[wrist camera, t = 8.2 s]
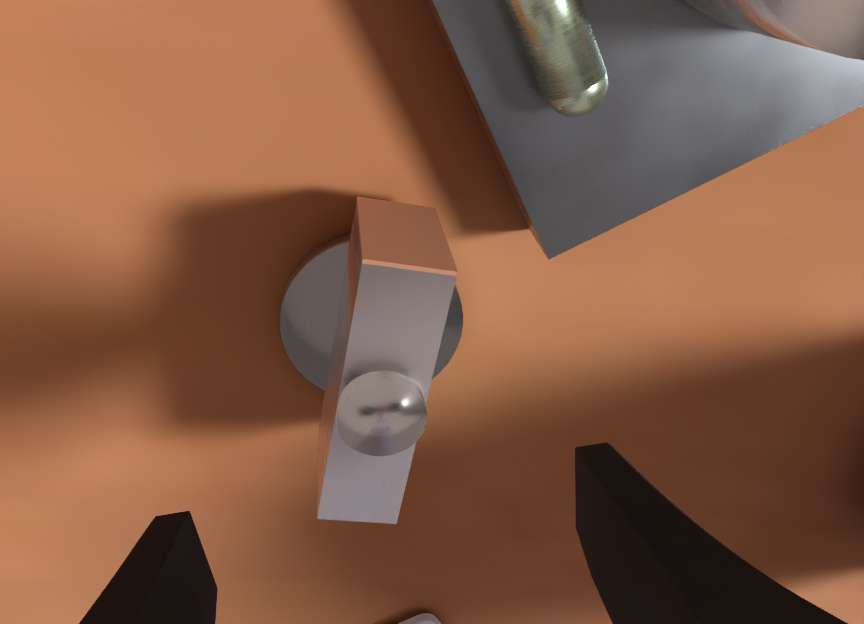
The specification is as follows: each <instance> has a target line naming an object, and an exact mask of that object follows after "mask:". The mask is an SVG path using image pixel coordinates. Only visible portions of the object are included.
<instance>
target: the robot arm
mask: <svg viewBox="0 0 864 624" xmlns="http://www.w3.org/2000/svg"><path fill="white" fill-rule="evenodd" d="M575 481H576V529H577V532H578V535H579V538H580V542H581V545H582V548H583V551H584V554H585V557H586V561H587V564H588V567H589V570H590V573H591V576H592V578H593V581H594V583H595V585H596V587H597V590H598V592H599V594H600V596H601V599H602V601H603V603H604V605H605V607H606V610H607V612H608V614H609V616H610V618H611V621H612V623H613V624H848V623H846V622H844V621H842V620H840V619H838V618H837V617H835V616H833V615H831V614H830V613H828V612H826V611H824V610H822V609H821V608H819V607H817V606H815V605H814V604H812V603H810V602H808V601H807V600H805V599H803V598H801V597H800V596H798V595H796V594H795V593H793V592H791V591H790V590H788V589H786V588H785V587H783V586H782V585H780V584H778V583H777V582H775V581H774V580H772V579H771V578H769V577H768V576H766V575H765V574H763V573H762V572H760V571H759V570H757V569H756V568H754V567H753V566H752V565H750V564H749V563H747V562H746V561H745V560H743V559H742V558H740V557H739V556H738V555H736V554H735V553H734V552H732V551H731V550H729V549H728V548H727V547H726V546H724V545H723V544H722V543H720V542H719V541H718V540H716V539H715V538H714V537H713V536H711V535H710V534H709V533H707V532H706V531H705V530H704V529H703V528H701V527H700V526H699V525H698V524H696V523H695V522H694V521H693V520H692V519H690V518H689V517H688V516H687V515H686V514H685V513H683V512H682V511H681V510H680V509H679V508H678V507H676V506H675V505H674V504H673V503H672V502H671V501H669V500H668V499H667V498H666V497H665V496H664V495H663V494H662V493H660V492H659V491H658V490H657V489H656V488H655V487H654V486H653V485H652V484H651V483H650V482H648V481H647V480H646V479H645V478H644V477H643V476H642V475H641V474H640V473H639V472H638V471H637V470H636V469H635V468H634V467H633V466H632V465H631V464H630V463H629V462H627V461H626V460H625V459H624V458H623V457H622V456H621V455H620V454H619V453H618V452H617V451H616V450H615V449H614V448H613V447H612V446H611V445H609V444H608V443H601V444H595V445H588V446H582V447H576V448H575ZM216 602H217V586H216V583H215V580H214V578H213V575H212V572H211V569H210V566H209V564H208V561H207V558H206V555H205V553H204V550H203V547H202V544H201V541H200V539H199V536H198V533H197V530H196V528H195V525H194V522H193V519H192V516H191V514H190V511H186V512H180V513H173V514H167V515H161V516H156V517H155V518H154V519H153V521H152V522H151V523H150V525H149V526H148V528H147V529H146V530H145V532H144V533H143V535H142V536H141V538H140V539H139V541H138V542H137V543H136V545H135V546H134V548H133V549H132V551H131V552H130V554H129V555H128V556H127V558H126V559H125V561H124V562H123V564H122V565H121V567H120V568H119V569H118V571H117V572H116V574H115V575H114V577H113V578H112V579H111V581H110V582H109V584H108V585H107V586H106V588H105V589H104V590H103V592H102V593H101V595H100V596H99V597H98V599H97V600H96V601H95V603H94V604H93V605H92V607H91V608H90V610H89V611H88V612H87V614H86V615H85V616H84V618H83V619H82V620H81V622H80V623H79V624H215V619H216ZM398 624H441V623H440V622H439V620H438V619H437V618H436V617H435V616H434V615H432V614H429V613H422V614H419V615H416V616H414V617H412V618H410V619H407V620H405V621H403V622H400V623H398Z"/></svg>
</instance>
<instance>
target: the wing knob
mask: <svg viewBox="0 0 864 624" xmlns="http://www.w3.org/2000/svg"><path fill="white" fill-rule="evenodd" d="M457 273H458V271H457V268H456V266H455V263H454V260H453V257H452V254H451V252H450V249H449V246H448V243H447V240H446V238H445V235H444V232H443V229H442V226H441V224H440V221H439V218H438V215H437V212H436V210H435V208H430V207H424V206H417V205H411V204H404V203H398V202H391V201H385V200H379V199H372V198H366V197H359V196H357V199H356V205H355V211H354V217H353V223H352V229H351V233H350V234H347V235H343V236H340V237H337V238H335V239H332V240H330V241H328V242H326V243H324V244H322V245H321V246H319V247H317V248H316V249H315V250H313V251H312V252H311V253H310V254H308V255H307V256H306V257H305V258H304V259H303V260H302V261H301V262H300V263H299V265H298V266H297V267H296V269H295V270H294V271H293V273H292V275H291V277H290V278H289V280H288V282H287V285H286V288H285V290H284V294H283V299H282V304H281V312H280V333H281V339H282V342H283V346H284V349H285V351H286V353H287V356H288V357H289V359H290V360H291V362H292V364H293V365H294V366H295V368H296V369H297V370H298V371H299V372H300V373H301V374H302V375H303V376H304V377H305V378H306V379H307V380H308V381H310V382H311V383H312V384H314V385H315V386H317V387H318V388H320V389H322V390H324V391H325V393H324V399H323V405H322V411H321V417H320V423H319V455H318V498H317V519H325V520H341V521H357V522H372V523H388V524H397V520H398V516H399V512H400V508H401V504H402V500H403V495H404V491H405V487H406V483H407V479H408V475H409V471H410V467H411V462H412V458H413V454H414V450H415V446H416V442H417V441H418V439H419V438H420V437H421V435H422V434H423V432H424V430H425V427H426V424H427V411H426V406H425V405H426V401H427V397H428V392H429V388H430V384H431V380H432V379H433V378H434V377H435V376H436V375H437V374H439V373H440V372H441V371H442V369H443V368H444V367H445V366H446V365H447V364H448V362H449V361H450V359H451V358H452V356H453V354H454V352H455V350H456V348H457V346H458V343H459V340H460V337H461V332H462V327H463V312H462V305H461V301H460V297H459V294H458V291H457V288H456V285H455V281H456V277H457Z"/></svg>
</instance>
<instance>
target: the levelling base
mask: <svg viewBox="0 0 864 624" xmlns="http://www.w3.org/2000/svg"><path fill="white" fill-rule="evenodd" d="M426 2H427V4H428V6H429V9H430V11H431V13H432V15H433V17H434V20H435V22H436V24H437V26H438V28H439V31H440V33H441V35H442V37H443V39H444V42H445V44H446V46H447V48H448V51H449V53H450V55H451V57H452V59H453V62H454V64H455V66H456V68H457V70H458V73H459V75H460V77H461V79H462V81H463V84H464V86H465V88H466V90H467V92H468V95H469V97H470V99H471V101H472V103H473V106H474V108H475V110H476V112H477V115H478V117H479V119H480V121H481V123H482V126H483V128H484V130H485V132H486V134H487V137H488V139H489V141H490V143H491V145H492V148H493V150H494V152H495V154H496V156H497V159H498V161H499V163H500V165H501V167H502V170H503V172H504V174H505V176H506V178H507V181H508V183H509V185H510V187H511V190H512V192H513V194H514V196H515V198H516V201H517V203H518V205H519V207H520V209H521V212H522V214H523V216H524V218H525V220H526V223H527V225H528V227H529V229H530V231H531V233H532V234H533V236H534V237H535V239H536V240H537V242H538V244H539V245H540V247H541V248H542V250H543V251H544V253H545V255H546V256H547V258H548V259H551V258H553V257H555V256H557V255H559V254H561V253H563V252H565V251H567V250H569V249H571V248H573V247H575V246H577V245H579V244H581V243H583V242H585V241H587V240H590V239H592V238H594V237H596V236H598V235H600V234H602V233H604V232H606V231H608V230H610V229H612V228H614V227H616V226H618V225H620V224H622V223H624V222H626V221H628V220H630V219H632V218H635V217H637V216H639V215H641V214H643V213H645V212H647V211H649V210H651V209H653V208H655V207H657V206H659V205H661V204H663V203H665V202H667V201H669V200H671V199H673V198H675V197H677V196H680V195H682V194H684V193H686V192H688V191H690V190H692V189H694V188H696V187H698V186H700V185H702V184H704V183H706V182H708V181H710V180H712V179H714V178H716V177H718V176H720V175H722V174H725V173H727V172H729V171H731V170H733V169H735V168H737V167H739V166H741V165H743V164H745V163H747V162H749V161H751V160H753V159H755V158H757V157H759V156H761V155H763V154H765V153H767V152H770V151H772V150H774V149H776V148H778V147H780V146H782V145H784V144H786V143H788V142H790V141H792V140H794V139H796V138H798V137H800V136H802V135H804V134H806V133H808V132H810V131H812V130H815V129H817V128H819V127H821V126H823V125H825V124H827V123H829V122H831V121H833V120H835V119H837V118H839V117H841V116H843V115H845V114H847V113H849V112H851V111H853V110H855V109H857V108H860V107H862V106H864V0H426Z"/></svg>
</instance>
